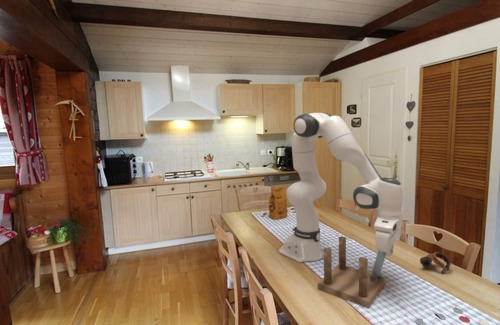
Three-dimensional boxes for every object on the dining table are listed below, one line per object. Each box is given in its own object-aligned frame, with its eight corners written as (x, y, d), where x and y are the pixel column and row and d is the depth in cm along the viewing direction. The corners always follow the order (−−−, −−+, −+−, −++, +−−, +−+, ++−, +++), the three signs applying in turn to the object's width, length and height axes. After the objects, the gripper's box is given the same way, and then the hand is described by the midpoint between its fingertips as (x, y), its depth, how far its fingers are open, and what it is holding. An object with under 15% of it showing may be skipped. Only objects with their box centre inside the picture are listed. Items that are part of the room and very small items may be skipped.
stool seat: (317, 288, 113) (316, 250, 110) (338, 268, 127) (338, 234, 125) (368, 308, 99) (368, 264, 97) (385, 283, 114) (386, 245, 112)
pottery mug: (432, 262, 130) (443, 250, 126) (445, 280, 122) (458, 269, 118) (410, 259, 127) (421, 247, 123) (423, 278, 120) (434, 266, 115)
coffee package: (267, 217, 204) (266, 187, 202) (280, 213, 211) (279, 185, 208) (275, 220, 196) (274, 190, 193) (289, 217, 203) (288, 187, 200)
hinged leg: (370, 273, 113) (378, 247, 110) (373, 270, 115) (380, 245, 112) (378, 277, 111) (386, 251, 108) (380, 274, 113) (388, 248, 110)
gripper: (388, 212, 117) (388, 243, 118) (372, 226, 102) (372, 262, 103) (405, 214, 113) (405, 247, 114) (391, 229, 98) (390, 267, 99)
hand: (389, 254), depth 109 cm, fingers closed, pressing on hinged leg
